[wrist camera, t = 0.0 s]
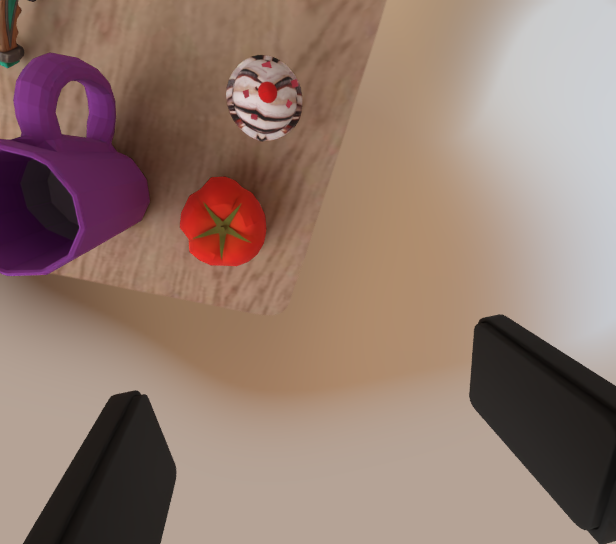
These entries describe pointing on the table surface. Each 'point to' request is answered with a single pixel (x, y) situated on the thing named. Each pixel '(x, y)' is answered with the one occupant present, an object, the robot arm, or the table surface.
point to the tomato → (223, 223)
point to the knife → (9, 33)
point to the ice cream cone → (264, 98)
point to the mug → (63, 173)
